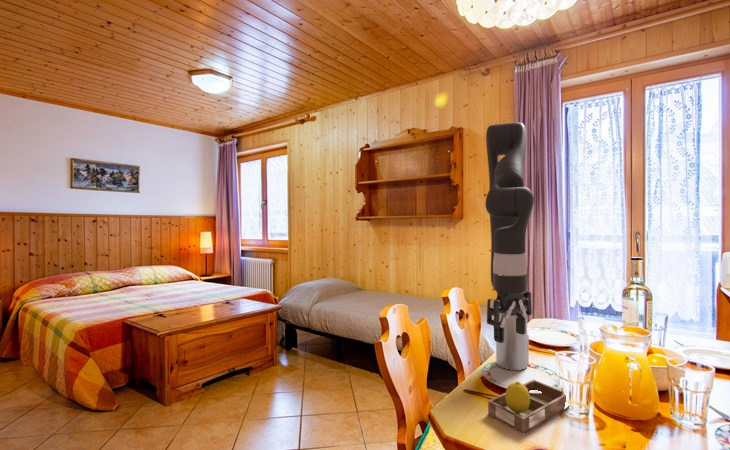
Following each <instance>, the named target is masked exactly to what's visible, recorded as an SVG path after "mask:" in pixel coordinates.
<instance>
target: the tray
mask: <svg viewBox="0 0 730 450" xmlns="http://www.w3.org/2000/svg"><path fill="white" fill-rule="evenodd" d="M522 384H523V385H524V386H525V387H526V388H527V389H528V392H529V391H530V390H538V391H541V392H542V394H529V395H530V405H529V408H528V409H527V411H525V412H524V413H520V414H516V413H515V412H513V411H512V410H511V409H510V408H509V407H508V405H507V403H506V399H505V395H506V392H504V393H502V394H500V395H498V396H496V397H495V396H494V397H493V398H491V399H489V400H487V414H488V416H490V417H491V418H492V419H493V418H494V419H495V420H497V421H498V422H501V423H503V424H504V425H506V426H508V427H509V428H511V429H513V430H515V431H517V432H519V433H520V434H523V435H525V434H527V433H529V432H530V431H532V430H534V429H536V428H537V427H540V425H542V424H543V423H546V422H547V421H549V420H551V419H553V418H554V417H555V416H557V415H559V414H561V413H562V412H564V411H565V410H564V407H565V402H566V395H565V394H564V395H562V396H561V391H562V390H561V389H558V388H555V387H553V386H551V385H548V384H546V383H543V382H541V381H538V380H536V379H531V380H530V381H526V382H525V383H522ZM560 390H561V391H560ZM563 410H564V411H563Z"/></svg>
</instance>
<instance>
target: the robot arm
mask: <svg viewBox="0 0 730 450" xmlns="http://www.w3.org/2000/svg"><path fill="white" fill-rule="evenodd" d="M485 136H486V137H485V143H486V145H485V146H486V155H487V164H488V165H487V166H488V177H489V178H488V179H489V180H488V182H489V190H488V191H487V194H486V197H485V209H486V210H485V211H486V212H487V213H488V215H489V222H490V240H491V243H490V245H491V246H490V250H491V251H490V253H491V254H490V282H491V286H492V288H493V290H494V291H495V292H496V294H497V295H496V298H495V299H493V298H492V299H491V298H488V299H487V300H486V301H487V305H486V309H487V310H486V324H487V325H490V326H493V340H494V341H495V360H496V361H495V363H496V365H497V366H498V367H500V368H502V369H504V368H505V369H504V370H508V369H510V370H509V371H523V370H522V369H524V370H525V368H526V367H527V368H528V365H529V352H530V351H529V345H530V344H529V341H530V340H529V338H530V337H529V334H528V316H531V315H532V314H533V312H532V311H533V309H532V292H531V291H528V283H529V282H528V281H529V269H528V262H527V256H526V251H527V250H526V249H527V247H526V240H527V239H526V234H527V227H528V223H529V220H530V217H531V213H532V210H533V207H534V202H535V196H534V194H533V191H532V190H531V189H530V188H528V187H525V181H524V178H525V176H524V163H525V159H526V158H525V157H526V151H527V149H526V148H527V130H526V126H525V125H524V123H522V122H519V121H517V122H505V123H504V122H503V123H495V124H490V125H488V127H487V129H486V133H485ZM499 156H503V157H502V158H501V159H499ZM527 368H526V369H527Z"/></svg>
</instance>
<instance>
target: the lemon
mask: <svg viewBox="0 0 730 450" xmlns="http://www.w3.org/2000/svg"><path fill="white" fill-rule="evenodd" d="M523 384H524V383H522V382H520V381H515V382H511V383H510V384H509V385H508V386H507V387H506V391H505V393H506V395H505V399H506V403H507V405H508V407H509V408H510V409H511V410H512V411H513V412H515V413H516V414H520V413H524V412H525V411H527V409H528V408H529V405H530V395H529V392H528V389H527V388H526V387H525V386H524V385H523Z"/></svg>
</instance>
